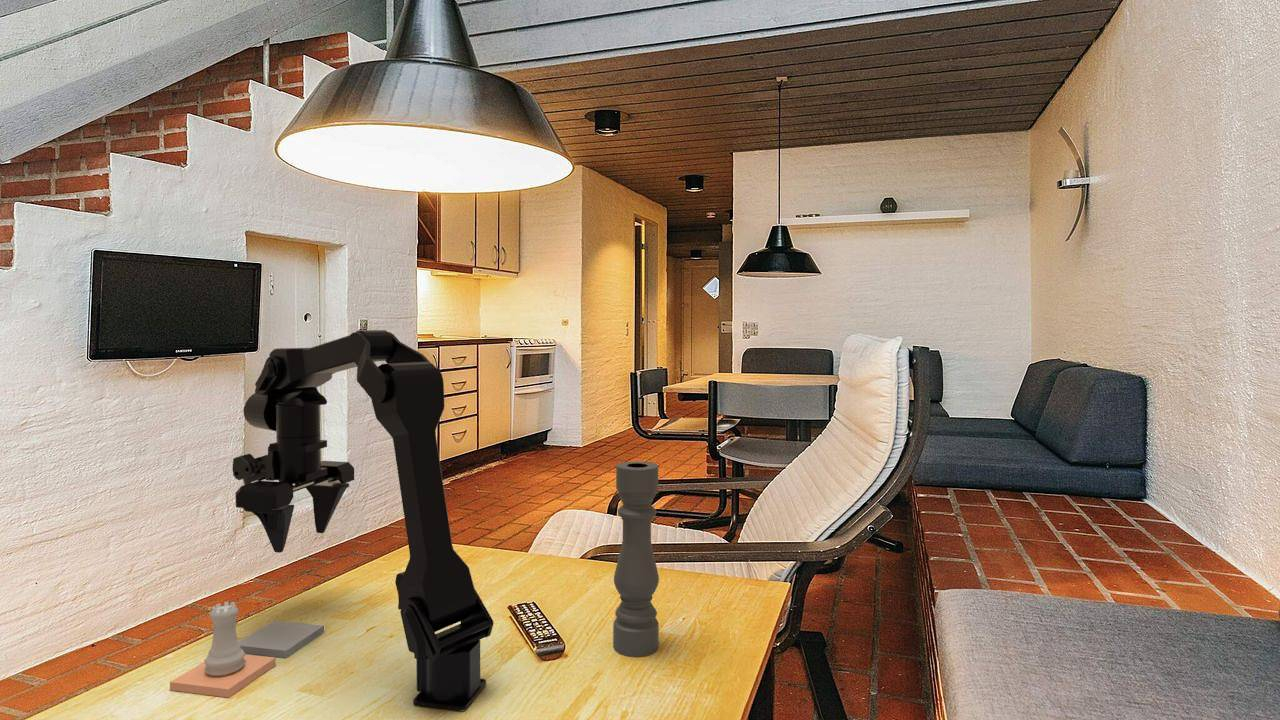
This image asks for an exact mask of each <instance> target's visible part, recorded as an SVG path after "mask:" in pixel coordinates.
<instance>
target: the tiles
mask: <svg viewBox="0 0 1280 720" xmlns="http://www.w3.org/2000/svg"><path fill="white" fill-rule="evenodd" d="M324 633H325V625H323V624H317V623H314V624H313V623H305V622H295V621H284V620H276V619H275V620H272V621H270V622H268V623H267V624H265V625H264V626H262V627H260V628H258V629H257V630H255V631H253V632H252V633H250V634H248V635H247V636H245V637H243V638H242V639H239V640H237V641H238V644H239V645H240V646H241V649H243V651H244V653H245V656H244V659H245V661H246V662H245V664H244V666H243V667H242V668H241V669H240V670H239V671H237V672H235V673H233V674H230V675H226V676H219V677H215V676H210V675H208V674H207V673H206V672H205V670H204V668H205V667H206V666H207V665H206V664H205V660H204V661H203V662H201V663H200V664H198V665H196V666H195V667H193V668H191V669H189V670H188V671H186V672H184V673H183V674H181V675H179V676H178V677H176V678H174V679H172V680H170V681H169V690H170V691H173V692H180V691H181V692H180V693H187V694H189V693H190V694H196V695H204V696H206V695H207V696H213V697H220V698H230V697H231V696H233V695H235V694H236V693H238V692H239V691H241V690H242V689H243V688H245V687H246V686H248V685H249V684H251V683H252V682H253V681H255V680H256V679H258V678H260V677H261V676H263V675H264V674H266V672H268V671H270V670H271V669H272V668H274V667H276V666H277V665H276V663H277V661H276V658H280V659H287V658H289V657H290V656H292V655H294V654H295V653H296V652H297V651H300V649H302V648H303V647H305V646H306V645H307V644H309V643H311V642H312V641H314V640H315V639H316V638H318V637H319V636H321V635H322V634H324Z"/></svg>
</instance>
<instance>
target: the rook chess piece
mask: <svg viewBox="0 0 1280 720" xmlns="http://www.w3.org/2000/svg"><path fill="white" fill-rule="evenodd" d="M223 603H224V605H222V603H221V602H219V603H216V604H215V605H213V606H212V607H211V612H210V613H209V615H208V617H209V619H210V620H211V621H213V622H212V623H213V624H212V625H211V627H210V629H211V630H212V642H211V648H210V649H209V651H208V655H207V656H206V657H205V659H204V661H205V664H206V665H207V666H206V667H205V668H204V670H205V672H206V673H207V674H208V675H210V676H215V677H219V676H226V675H230V674H233V673H235V672H237V671H239V670H240V669H241V668H242V667H243V666H244V664H245V662H246V661H245V659H244V656H245V653H244V651H243V649H241V646H240V645H239V644H238V641H239V640H238V635H237V625H238V622H237V620H236V618H237V616H238V614H239V613H240V610H239V608H238V607H237V603H236V602H234V601H231V602H230V601H224V602H223ZM229 604H230V605H229Z"/></svg>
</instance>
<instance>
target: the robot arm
mask: <svg viewBox="0 0 1280 720" xmlns="http://www.w3.org/2000/svg"><path fill="white" fill-rule="evenodd" d="M268 356H269V357H267V358H266V360H265V363H264V365H263V367H262V370H261V373H260V375H259V376H258V378H257V380H256V382H255V383H254V385H255V390H254V393H253V394H251V395H250V396H249V397H248V398H247V400H246V402H245V404H244V407H243V417H244V419H245V421H246V423H248V424H249V425H250V426H252V427H254V428H258V429H263V430H268V431H273V432H276V439H275V440H276V442H273V443H269V446H268V447H267V454H266V455H263V456H258V457H255V456H253V454H252V453H247V454H244V455H240V456H237V457H236V456H235V457H234V458H232V459H233V461H232V476H233V477H234V479H236V480H238V481H241V480H242V481H243V483H244V485H243V484H242V485H241V486H240V487H239V488H238V489H237V490H236V491H235V492H234V494H235V507H236V508H240V509H243V511H244V512H248V513H252V514H253V515H255V517H257V518H258V519H259V521H260V522H261V524H262V527H263V528H264V530H265V533H266V536H267V538H268V540H269V542H270V544H271V547H272V550H273V552H275V553H279V554H280V553H283V552H284V549H285V546H286V542H287V539H288V535H289V530H290V526H291V522H292V518H293V513H294V510H295V509H294V508H295V504H291V502H292V500H293V498H294V493H295V492H298V491H300V490H301V491H302V490H303V489H306V490H307V492H308V493H309V494H310V496H311V497H312V505H313V506H312V507H313V517H314V525H315V530H316V533H317V534H324V533H325V531H326V530H327V529H328V525H329V524H330V522H331V519H332V517H333V514H334V513H335V510H336V509H337V507H338V505H339V503H340V501H341V499H342V497H343V495H344V494H345V492H346V490H347V488H350V483H349V482H352V481H353V482H354V480H355V468H354V466H353V465H352V464H351V462H349V461H333V460H322V457H321V456H322V455H321V454H322V452H321V451H322V449H324V448H328V440H327V439H321V406H323V405H327V403H328V399H326V397H325V396H324V395H322V394H321V393H320V392H319V390H318V387H321V386H323V385H324V384H325V383H327V382H329V381H331V380H332V379H333V374H336V373H338V372H342V371H346V370H349V369H355V368H357V370H356V382H357V383H358V385H359V386H360V387H361V388H362V389H363V390H364V392H365V393H366V394H367V395H368V396H369V398H370V399H371V404H372V408H373V412H374V415H375V419H376V420H377V421H378V422H379V423H380V425H381V426H382V427H383V428H384V430H385V431H386V432H387V433H388V434H389V435H390V436H391V438H392V441H393V449H394V456H395V461H396V468H397V476H398V482H399V488H400V489H399V490H400V495H401V496H400V497H401V502H402V510H403V515H404V517H403V518H404V524H405V531H406V537H407V543H408V544H407V545H408V550H409V558H408V559H409V560H408V562H407V565H406V566H405V567H406V568H405V570H404V571H402V572H399V573H397V574H396V576H395V582H394V583H395V588H396V591H397V597H398V604H397V609H398V610H399V612H400V617H401V621H402V625H403V626H402V627H403V631H404V635H405V640H406V644H407V648H408V651H409V652H410V653H413V654H414V659H416V663H415V664H416V672H415V673H416V691H417V692H419V693H418V694H416V696H415V697H414V698H413V699H412V701H413V702H412V703H413V705H415V706H422V707H431V708H438V709H439V708H440V709H446V710H448V709H449V710H456V711H464V710H466V709H467V708H468V707H469V705H471V703H472V702H473V701H474V700H475V698H476V697H477V696H478V695H479V693H480V692H481V691H482V690H483V689H484V688H485V686H487V680H486V678H481V640H483V639H484V638H488V637H490V636H491V634H492V631H493V627H494V620H493V618H492V616H491V614H490V612H489V611H488V609H487V607H486V605H485V604H484V602H483V601H482V599H481V597H480V596H479V594H478V592H477V590H476V588H475V586H474V580H473V578H472V573H471V570H470V567H469V566H468V564H467V563H466V562H465V561H464V560H463V559H462V558H461V557H460V555H459V554H458V553H457V552H456V551H455V549H454V546H453V541H452V534H451V529H450V528H451V527H450V522H449V515H448V514H449V513H448V507H447V501H446V494H445V488H444V482H443V481H444V480H443V474H442V467H441V461H440V460H441V459H440V454H439V447H438V442H437V436H436V434H437V433H436V432H437V431H436V429H437V427H438V426H439V422H440V420H441V417H442V415H443V412H444V410H445V387H444V384H445V383H444V378H443V374H442V372H441V370H440V368H438V367H436V366H435V365H434V364H433V363H432V362H430V360H429V359H428V358H427V357H426V356H425V355H424V354H423V353H421V352H419V351H417V350H415V349H414V348H412V347H410V346H409V345H406V344H404V343H403V342H401V341H400V340H399V339H398V338H397V336H395V335H394V333H392V332H391V331H387V330H386V329H380V330H379V329H376V330H375V329H374V330H373V329H370V330H361V329H358V330H356V331H355V332H351V334H349V335H346V336H342V337H340V338H337V339H333V340H331V341H327V342H324V343H321V344H318V345H314V346H312V347H283V348H282V347H281V348H279V347H278V348H273V349H272V351H270V352H269V355H268ZM377 362H385V363H381V364H380V365H379V366H378V365H377V364H376V363H377ZM321 460H322V461H321ZM457 623H459V624H457ZM455 624H456V625H455ZM453 625H454V626H453ZM449 626H452V627H449ZM445 628H446V629H445ZM443 629H444V630H443ZM440 630H442V631H440ZM435 632H437V633H435Z"/></svg>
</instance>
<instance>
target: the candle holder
mask: <svg viewBox="0 0 1280 720" xmlns="http://www.w3.org/2000/svg"><path fill="white" fill-rule="evenodd" d="M615 468H616V469H615V479H616V480H615V489H616V490H617V491H618V492H617V494H618V496H619V498H620V501H621V503H622V505H621V506H620V507H618V509H617V515H618V516H619V517H620V518H621V520H622V541H621V546H620V550H619V554H618V559H617V562H616V567H615V571H614V573H613V574H614V575H613V583H614V586H615V589H616V590H617V593H618V594H619V595H620V596H619V599H620V601H621V602H620V603H619V605H618V606H617V607H616V609H615V613H614V614H615V619H614V620H613V625H612V626H613V627H612V628H613V629H612V633H613V634H612V638H613V639H612V647H613V650H614V652H616V653H618V654H620V655H622V656H625V657H633V658H641V657H647V656H650V655H653V654H654V653H656V652H657V651H658V649H659V639H660V638H659V635H660V634H659V626H660V625H659V622H658V621H659V620H658V619H657V618H656V617H657V615H658V611H657V609H656V608H655V607H654V605H653V603H652V599H653V598H654V597H653V595H654V594H655V592H656V590H657V588H658V586H659V582H660V576H659V571H658V567H657V563H656V558H655V554H654V549H653V544H652V520H653V518H655V516H656V515H657V509H656V508H655V507H654V506H652V503H653V502H654V499H655V497H656V495H657V491H658V490H659V465H658V464H657V463H654V462H650V461H641V460H640V461H623V462H620V463H617V464H616V467H615Z"/></svg>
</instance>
